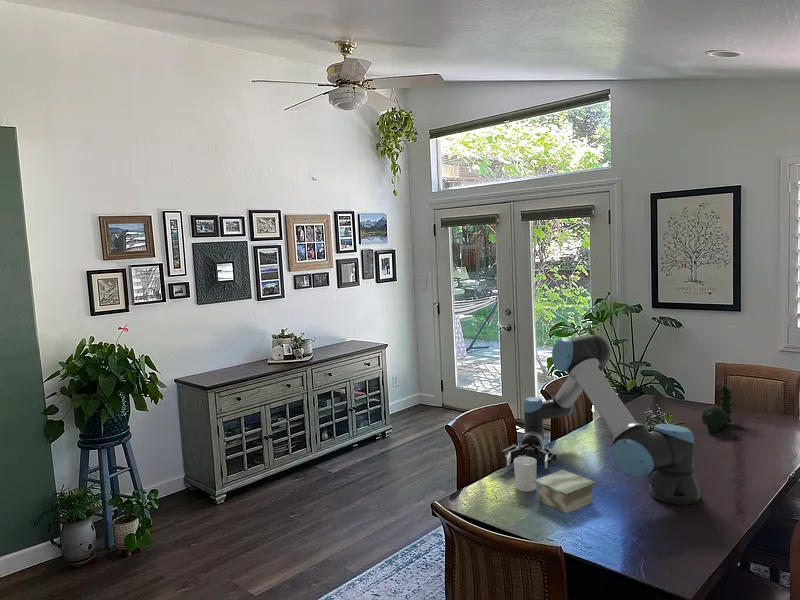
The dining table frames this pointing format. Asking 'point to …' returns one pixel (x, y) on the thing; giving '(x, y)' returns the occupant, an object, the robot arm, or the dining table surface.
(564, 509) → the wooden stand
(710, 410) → the green lumpy piece
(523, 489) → the white cup
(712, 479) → the dining table surface
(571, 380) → the robot arm
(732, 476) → the dining table surface
